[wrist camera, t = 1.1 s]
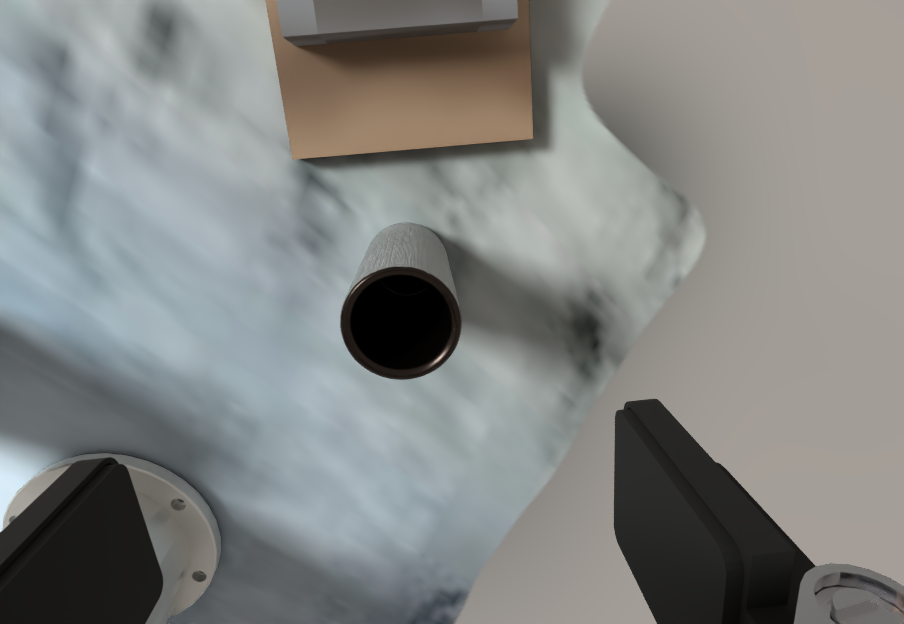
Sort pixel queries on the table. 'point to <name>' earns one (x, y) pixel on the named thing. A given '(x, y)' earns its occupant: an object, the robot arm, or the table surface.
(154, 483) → the robot arm
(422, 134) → the socket board
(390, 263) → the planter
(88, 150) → the table surface
